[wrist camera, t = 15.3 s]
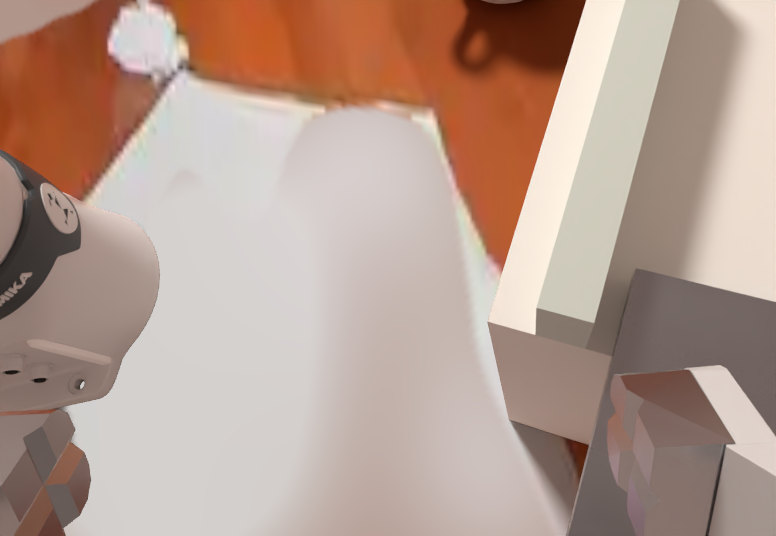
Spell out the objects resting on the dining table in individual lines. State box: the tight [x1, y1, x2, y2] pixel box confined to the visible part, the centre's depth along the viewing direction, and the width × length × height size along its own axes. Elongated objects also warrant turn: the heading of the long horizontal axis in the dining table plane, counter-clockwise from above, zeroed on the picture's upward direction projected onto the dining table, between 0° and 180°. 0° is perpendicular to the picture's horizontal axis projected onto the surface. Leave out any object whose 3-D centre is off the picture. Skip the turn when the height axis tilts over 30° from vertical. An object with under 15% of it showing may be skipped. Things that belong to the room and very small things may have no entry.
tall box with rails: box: [487, 0, 776, 445], centre depth 33 cm, size 15×16×29 cm
